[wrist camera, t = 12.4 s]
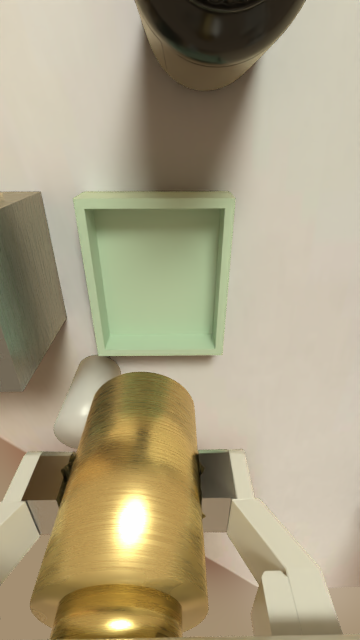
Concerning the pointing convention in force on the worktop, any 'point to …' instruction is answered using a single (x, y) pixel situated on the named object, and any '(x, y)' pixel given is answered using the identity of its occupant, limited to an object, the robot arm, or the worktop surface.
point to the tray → (157, 269)
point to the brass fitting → (128, 520)
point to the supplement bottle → (213, 36)
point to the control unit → (26, 289)
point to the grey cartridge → (82, 397)
